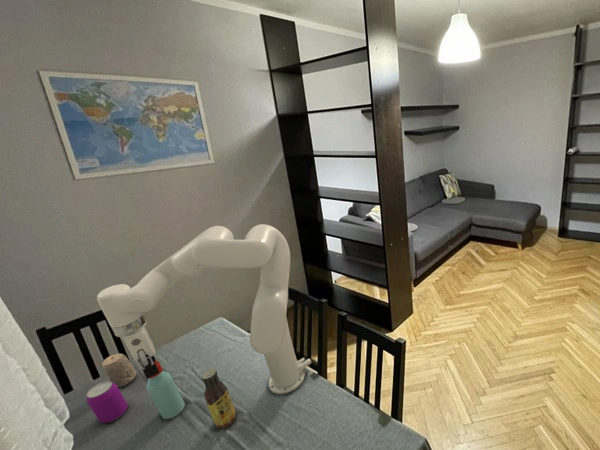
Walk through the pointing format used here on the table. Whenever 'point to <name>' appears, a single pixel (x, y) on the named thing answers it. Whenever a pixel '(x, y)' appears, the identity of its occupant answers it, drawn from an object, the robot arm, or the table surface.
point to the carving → (119, 370)
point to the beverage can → (106, 401)
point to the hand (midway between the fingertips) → (151, 369)
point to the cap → (158, 368)
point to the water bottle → (165, 395)
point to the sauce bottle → (218, 399)
